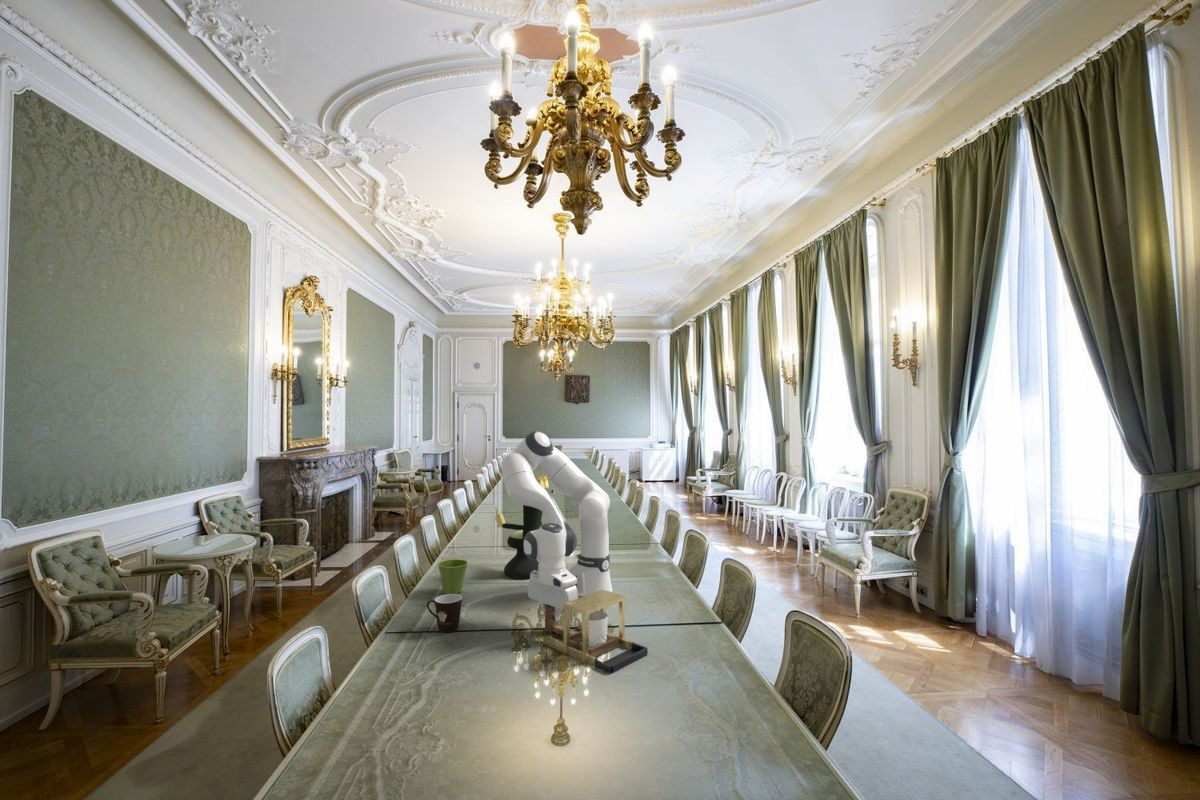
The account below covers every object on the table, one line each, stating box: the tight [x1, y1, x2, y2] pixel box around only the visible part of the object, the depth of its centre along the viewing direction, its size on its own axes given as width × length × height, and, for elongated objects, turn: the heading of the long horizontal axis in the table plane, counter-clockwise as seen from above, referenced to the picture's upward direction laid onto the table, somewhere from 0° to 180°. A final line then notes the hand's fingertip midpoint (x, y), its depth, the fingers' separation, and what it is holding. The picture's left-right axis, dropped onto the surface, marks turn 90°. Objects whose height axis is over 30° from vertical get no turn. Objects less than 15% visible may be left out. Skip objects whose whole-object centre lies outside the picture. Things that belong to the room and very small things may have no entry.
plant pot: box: [436, 558, 469, 594], centre depth 217 cm, size 12×12×11 cm
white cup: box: [581, 610, 609, 648], centre depth 167 cm, size 8×8×10 cm
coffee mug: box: [426, 593, 463, 634], centre depth 182 cm, size 12×9×10 cm
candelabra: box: [495, 471, 549, 580], centre depth 239 cm, size 19×22×45 cm
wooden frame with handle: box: [544, 605, 620, 658], centre depth 172 cm, size 25×12×8 cm, turn 47°
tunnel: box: [543, 590, 648, 674], centre depth 167 cm, size 28×17×15 cm, turn 47°
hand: (551, 618), depth 180 cm, fingers closed on wooden frame with handle, 3 cm apart
